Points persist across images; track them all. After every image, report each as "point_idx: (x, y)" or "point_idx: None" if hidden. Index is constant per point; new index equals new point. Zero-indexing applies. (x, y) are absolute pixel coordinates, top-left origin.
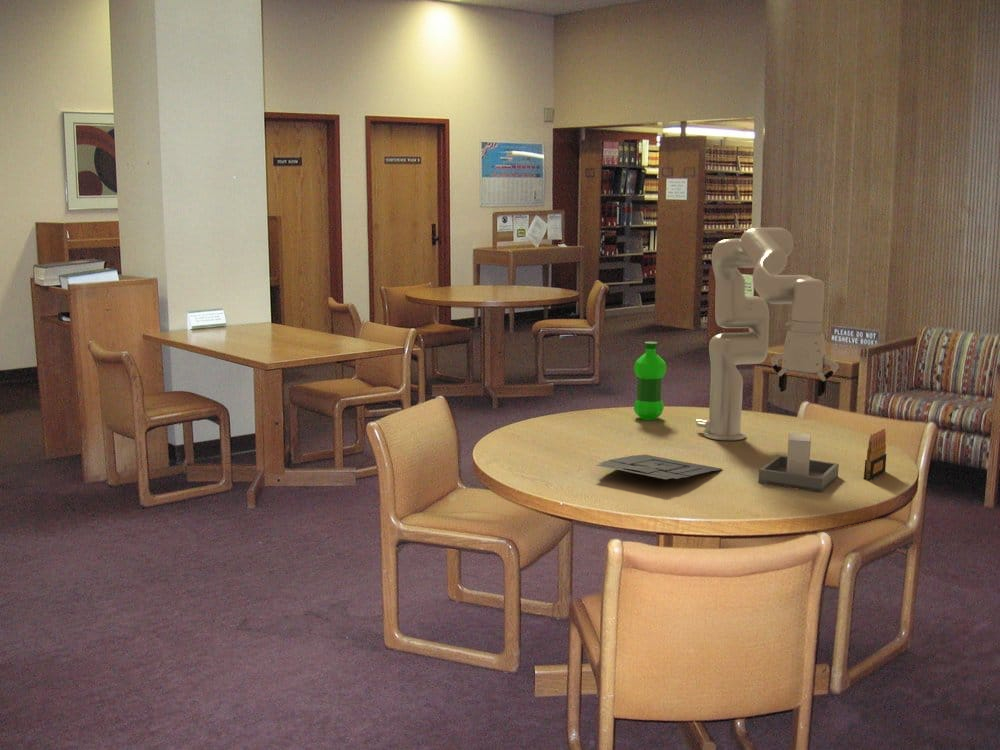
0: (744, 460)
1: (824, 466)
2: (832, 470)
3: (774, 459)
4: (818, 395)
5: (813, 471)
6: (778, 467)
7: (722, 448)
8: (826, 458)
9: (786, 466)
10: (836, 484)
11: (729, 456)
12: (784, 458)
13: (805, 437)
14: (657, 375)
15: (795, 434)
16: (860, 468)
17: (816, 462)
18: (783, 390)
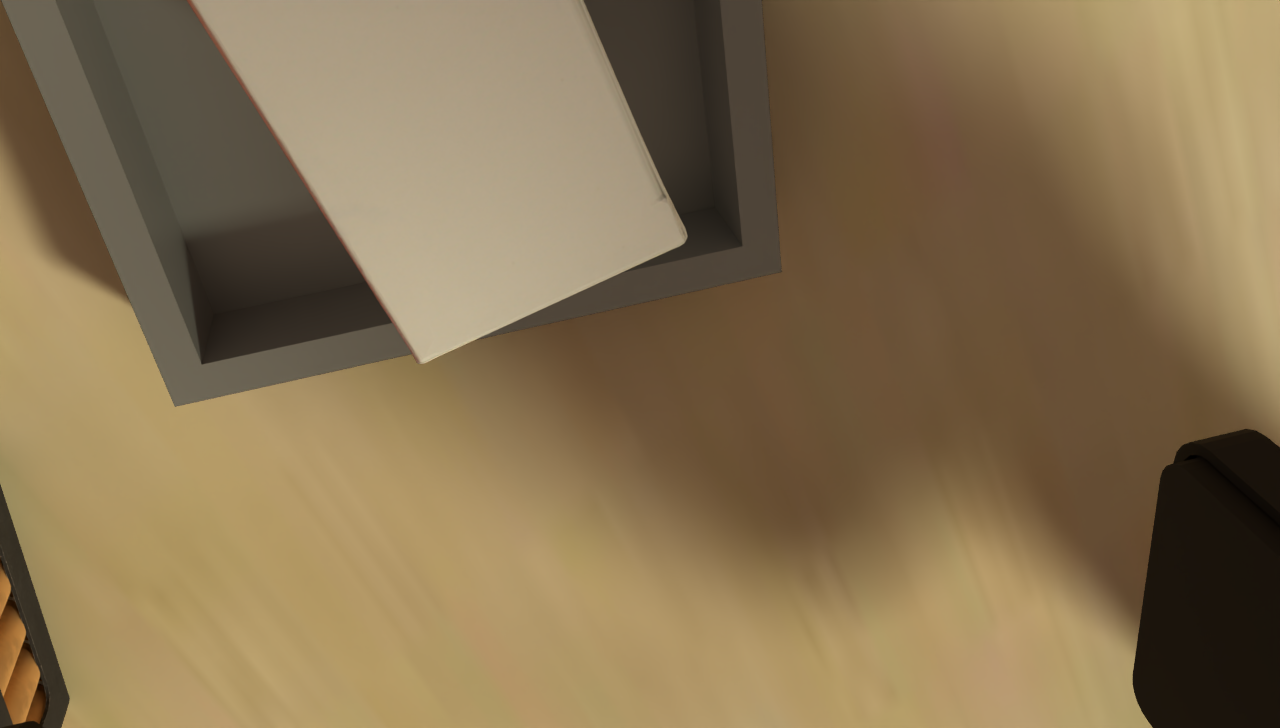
0: (1052, 227)
1: (298, 323)
2: (68, 150)
3: (751, 94)
4: (20, 726)
5: None
6: (709, 149)
7: (1276, 405)
8: (549, 695)
9: None
10: (26, 86)
11: (1187, 247)
12: (702, 248)
13: (372, 152)
14: None
15: (582, 228)
16: (210, 659)
17: (382, 320)
18: (1172, 505)
